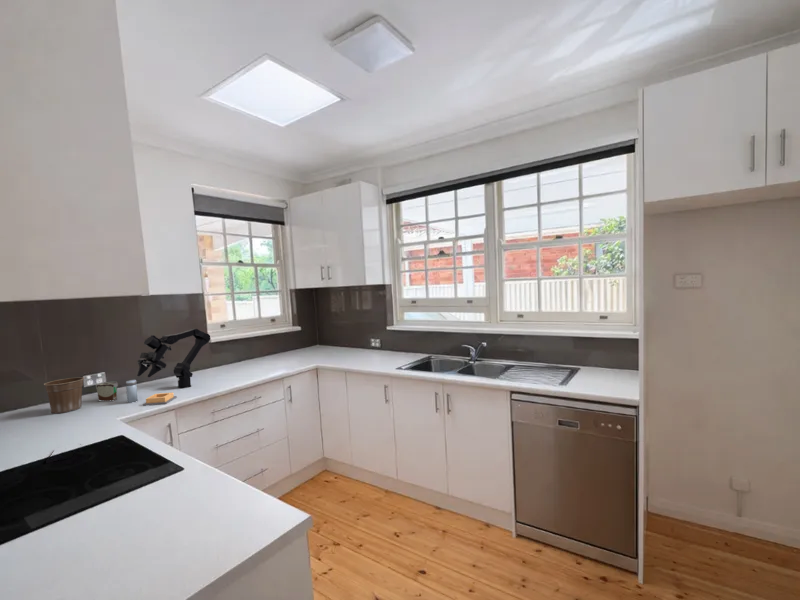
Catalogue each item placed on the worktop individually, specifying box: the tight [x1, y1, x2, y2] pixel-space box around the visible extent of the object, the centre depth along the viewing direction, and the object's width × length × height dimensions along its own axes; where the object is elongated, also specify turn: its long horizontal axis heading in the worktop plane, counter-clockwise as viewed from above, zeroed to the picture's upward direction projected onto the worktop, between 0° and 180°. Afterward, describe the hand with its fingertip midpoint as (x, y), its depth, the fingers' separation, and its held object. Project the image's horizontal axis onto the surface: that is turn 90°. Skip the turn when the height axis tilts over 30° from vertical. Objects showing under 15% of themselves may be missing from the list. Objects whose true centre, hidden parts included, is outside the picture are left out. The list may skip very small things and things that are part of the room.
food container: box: [95, 381, 119, 402], centre depth 217 cm, size 12×6×10 cm, turn 84°
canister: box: [125, 379, 139, 404], centre depth 210 cm, size 5×5×12 cm
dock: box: [142, 392, 178, 407], centre depth 207 cm, size 12×12×4 cm
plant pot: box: [43, 376, 85, 414], centre depth 199 cm, size 16×16×16 cm
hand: (143, 376), depth 215 cm, fingers open, 9 cm apart
